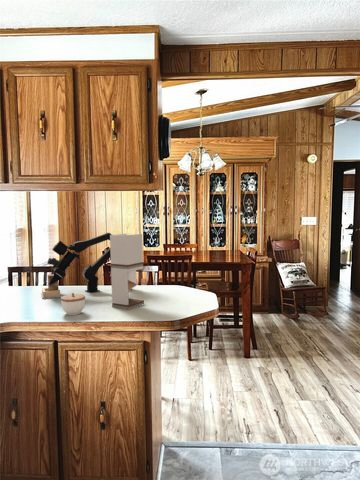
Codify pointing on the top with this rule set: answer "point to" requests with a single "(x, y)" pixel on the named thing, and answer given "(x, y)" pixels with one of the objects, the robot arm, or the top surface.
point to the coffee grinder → (125, 268)
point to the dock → (50, 293)
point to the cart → (52, 286)
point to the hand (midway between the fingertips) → (49, 283)
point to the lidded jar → (73, 303)
